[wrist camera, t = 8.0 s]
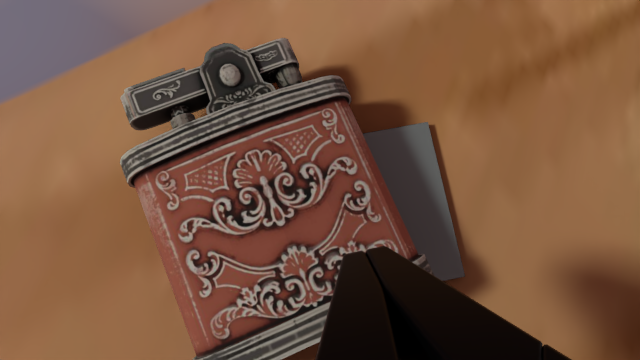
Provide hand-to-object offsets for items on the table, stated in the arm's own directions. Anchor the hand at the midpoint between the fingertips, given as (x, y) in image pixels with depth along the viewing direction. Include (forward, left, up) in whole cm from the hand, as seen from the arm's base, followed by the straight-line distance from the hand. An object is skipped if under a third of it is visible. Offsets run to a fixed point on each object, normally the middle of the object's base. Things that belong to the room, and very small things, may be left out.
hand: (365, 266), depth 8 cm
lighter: (-2, +1, -6) cm, 6 cm away
